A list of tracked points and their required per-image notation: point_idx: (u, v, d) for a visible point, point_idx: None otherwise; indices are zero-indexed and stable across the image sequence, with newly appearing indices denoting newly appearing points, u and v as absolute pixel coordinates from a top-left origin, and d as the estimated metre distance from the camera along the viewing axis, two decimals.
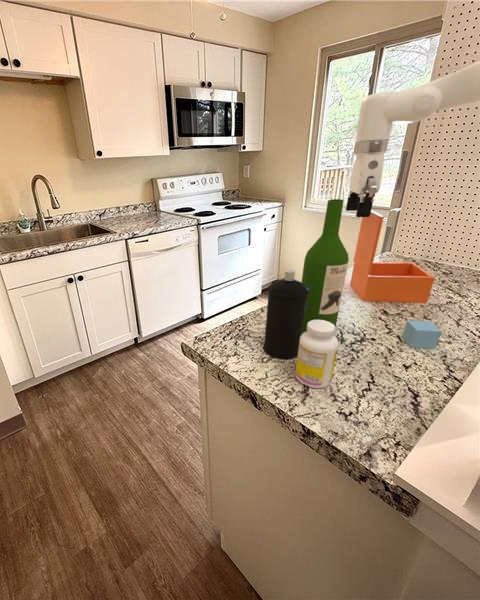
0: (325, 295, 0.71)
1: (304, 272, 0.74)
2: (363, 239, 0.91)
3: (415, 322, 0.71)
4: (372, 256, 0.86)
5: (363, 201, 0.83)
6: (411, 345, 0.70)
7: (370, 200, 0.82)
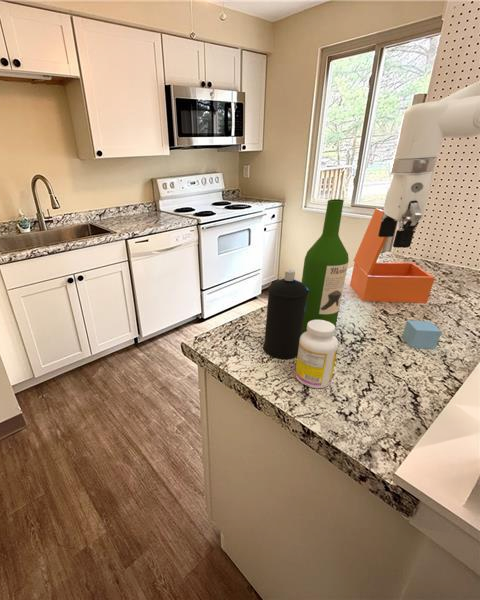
0: (325, 295, 0.71)
1: (304, 272, 0.74)
2: (369, 239, 0.91)
3: (415, 322, 0.71)
4: (376, 256, 0.85)
5: (403, 229, 0.70)
6: (411, 345, 0.70)
7: (412, 229, 0.69)
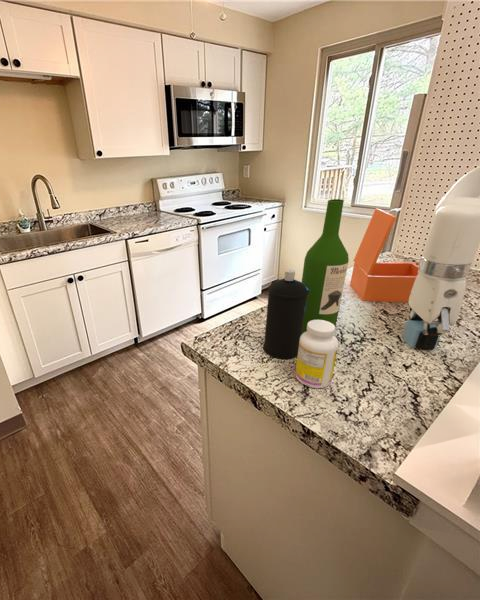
0: (325, 295, 0.71)
1: (304, 272, 0.74)
2: (369, 239, 0.91)
3: (415, 322, 0.71)
4: (376, 256, 0.85)
5: (427, 334, 0.66)
6: (411, 345, 0.70)
7: (437, 334, 0.66)
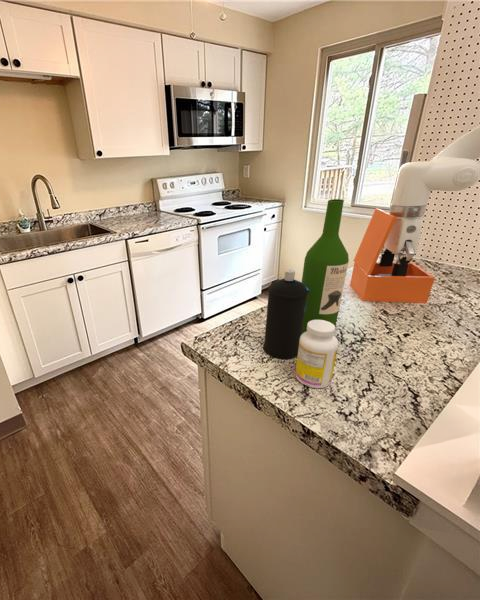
0: (325, 295, 0.71)
1: (304, 272, 0.74)
2: (369, 239, 0.91)
3: (383, 275, 0.94)
4: (376, 256, 0.85)
5: (399, 263, 0.85)
6: None
7: (406, 263, 0.84)
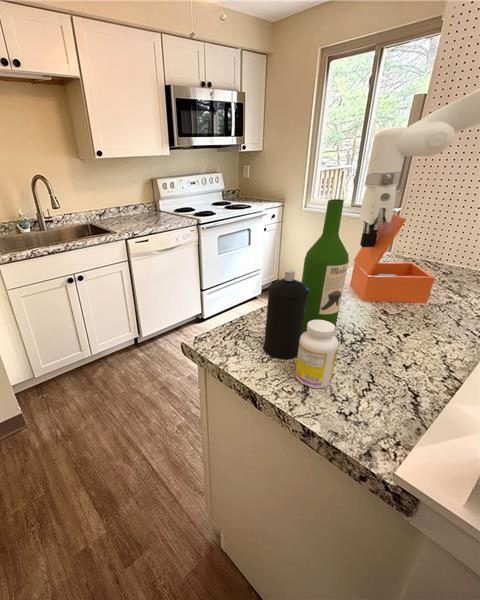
0: (325, 295, 0.71)
1: (304, 272, 0.74)
2: None
3: (383, 275, 0.94)
4: (379, 257, 0.85)
5: (368, 233, 0.87)
6: None
7: (375, 232, 0.87)
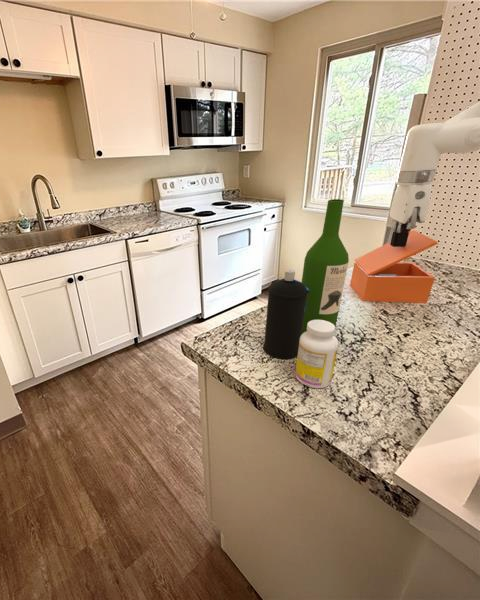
0: (325, 295, 0.71)
1: (304, 272, 0.74)
2: (388, 249, 0.91)
3: (383, 275, 0.94)
4: (390, 264, 0.85)
5: (400, 232, 0.85)
6: None
7: (407, 231, 0.84)
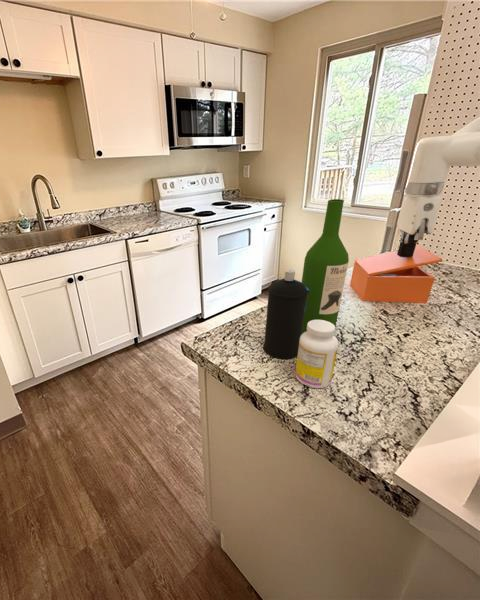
0: (325, 295, 0.71)
1: (304, 272, 0.74)
2: (391, 257, 0.92)
3: (383, 275, 0.94)
4: (392, 270, 0.86)
5: (407, 242, 0.86)
6: None
7: (414, 242, 0.85)
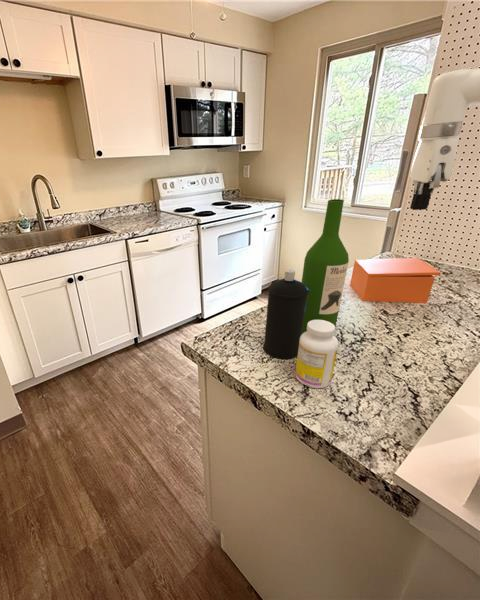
0: (325, 295, 0.71)
1: (304, 272, 0.74)
2: (391, 263, 0.92)
3: None
4: (391, 274, 0.86)
5: (421, 193, 0.80)
6: None
7: (429, 192, 0.79)
